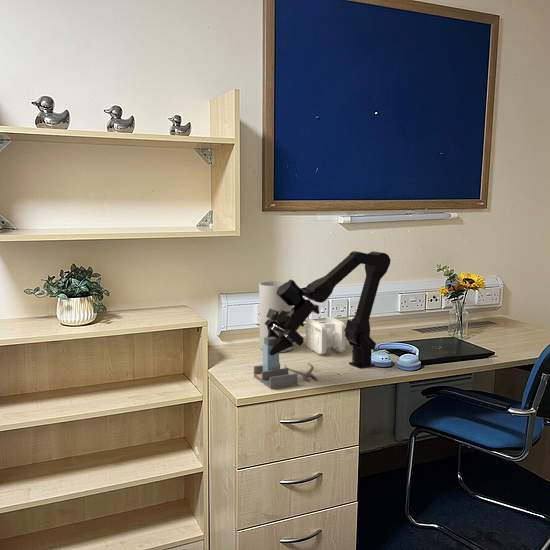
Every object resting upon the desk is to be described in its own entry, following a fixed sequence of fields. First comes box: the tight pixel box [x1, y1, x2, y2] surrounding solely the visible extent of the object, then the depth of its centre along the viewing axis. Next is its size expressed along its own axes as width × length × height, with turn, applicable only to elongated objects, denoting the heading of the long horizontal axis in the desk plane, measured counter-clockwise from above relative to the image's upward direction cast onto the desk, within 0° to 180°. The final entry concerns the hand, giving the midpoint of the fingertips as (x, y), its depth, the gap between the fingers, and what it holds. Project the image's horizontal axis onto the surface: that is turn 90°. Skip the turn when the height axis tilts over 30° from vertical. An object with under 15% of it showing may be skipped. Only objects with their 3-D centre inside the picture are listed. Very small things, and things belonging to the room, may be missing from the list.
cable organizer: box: [305, 316, 346, 356], centre depth 229 cm, size 15×11×12 cm
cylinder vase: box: [258, 280, 294, 353], centre depth 232 cm, size 12×12×25 cm
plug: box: [262, 337, 280, 371], centre depth 197 cm, size 4×4×12 cm
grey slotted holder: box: [253, 362, 299, 390], centre depth 194 cm, size 9×14×4 cm, turn 24°
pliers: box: [283, 362, 318, 383], centre depth 204 cm, size 10×1×20 cm
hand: (266, 352), depth 196 cm, fingers open, 5 cm apart
